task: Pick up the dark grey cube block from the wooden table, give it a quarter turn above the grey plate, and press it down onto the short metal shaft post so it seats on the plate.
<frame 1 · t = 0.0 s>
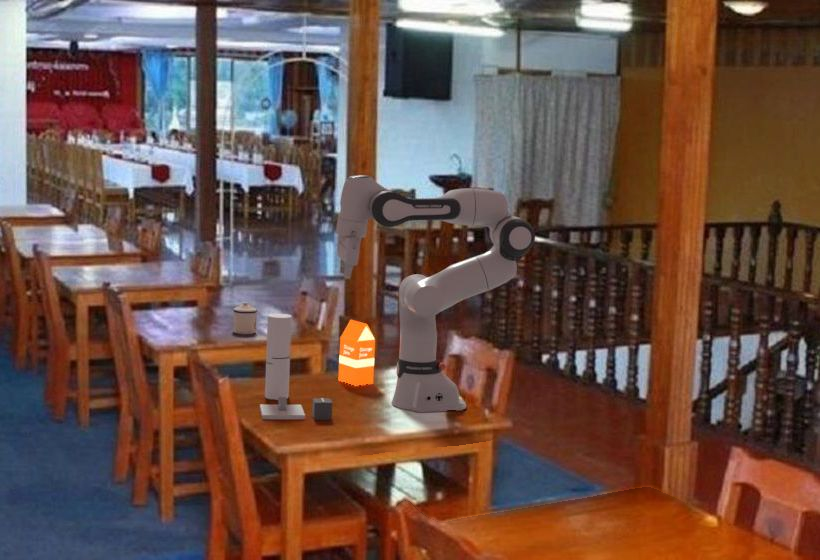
hand: (344, 276, 354), 39 cm above the table, tool pointing down, fingers open, 8 cm apart
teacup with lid: (243, 332, 464), on the table
dark grey cube block: (321, 417, 344), on the table
orange juice: (355, 382, 390), on the table
shaft base: (282, 413, 346), on the table
cylindrical container: (276, 397, 365), on the table
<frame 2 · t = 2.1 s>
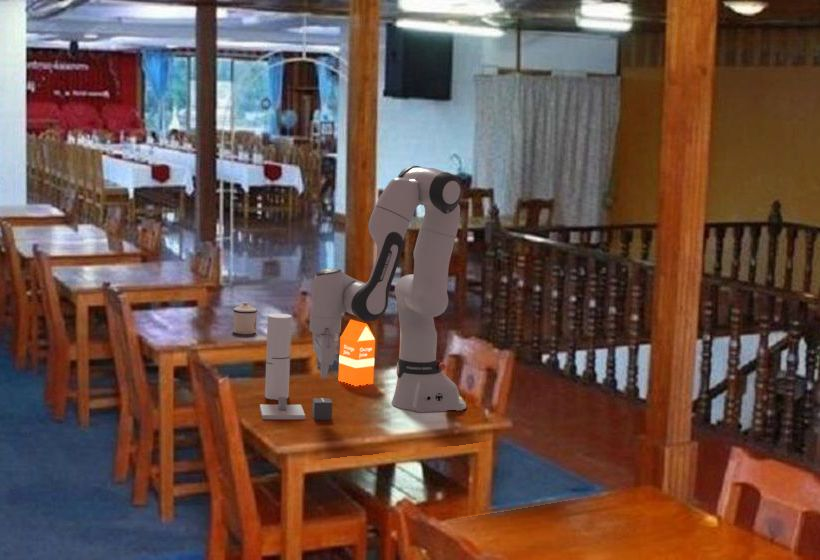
hand: (321, 373, 342), 13 cm above the table, tool pointing down, fingers open, 8 cm apart
nothing on the table moved.
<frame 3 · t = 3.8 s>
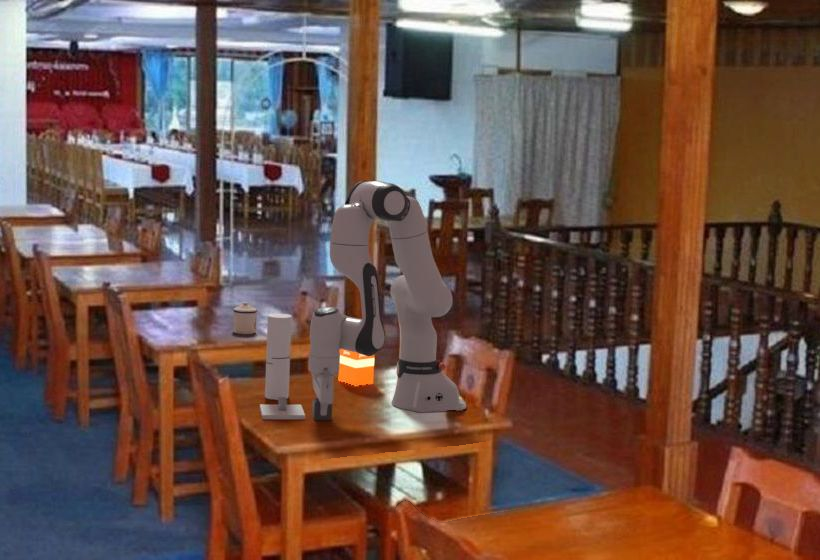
hand: (322, 412, 344), 2 cm above the table, tool pointing down, fingers closed on dark grey cube block, 5 cm apart
dark grey cube block: (321, 417, 344), on the table, touching gripper
everything else where it was.
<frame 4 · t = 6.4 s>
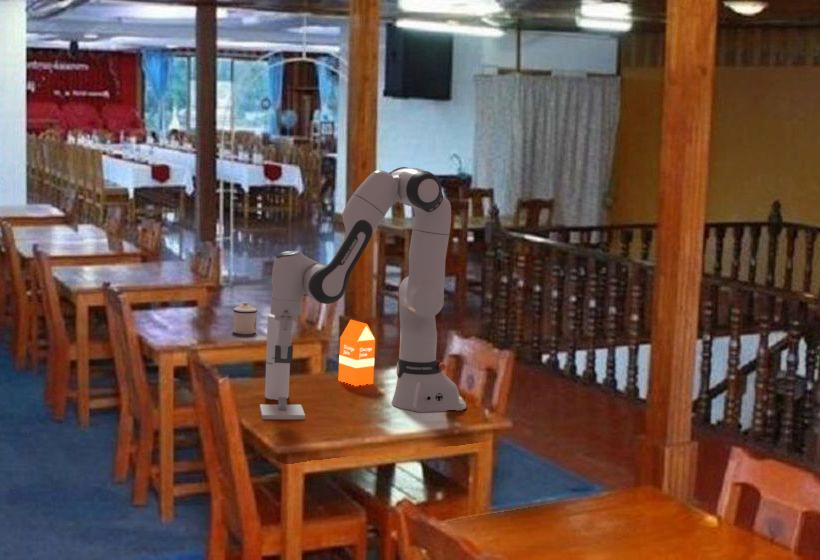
hand: (284, 355, 343), 17 cm above the table, tool pointing down, fingers closed on dark grey cube block, 5 cm apart
dark grey cube block: (283, 361, 343), point 15 cm above the table, touching gripper
everything else where it was.
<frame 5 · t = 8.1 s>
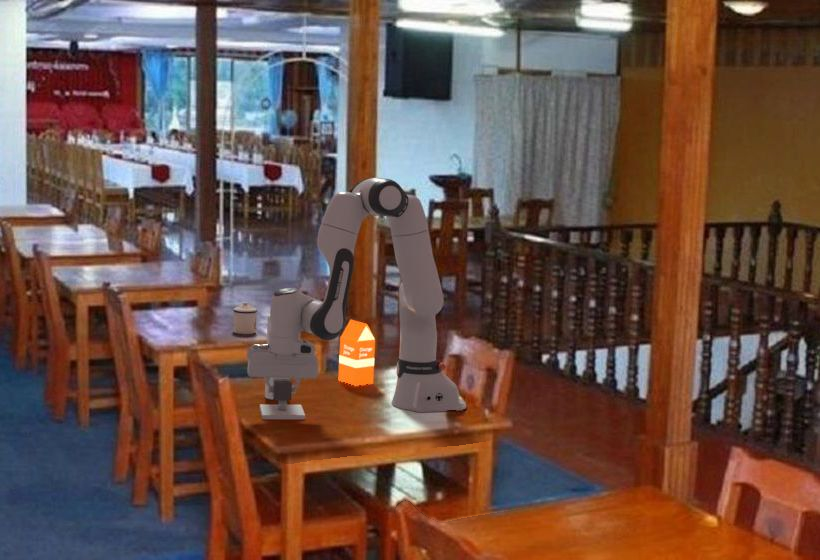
hand: (282, 392, 345), 6 cm above the table, tool pointing down, fingers closed on dark grey cube block, 5 cm apart
dark grey cube block: (281, 397, 345), point 5 cm above the table, touching gripper
everything else where it was.
when the fingers open (3 cm above the table, at t = 9.1 s): dark grey cube block stays where it is, resting on shaft base.
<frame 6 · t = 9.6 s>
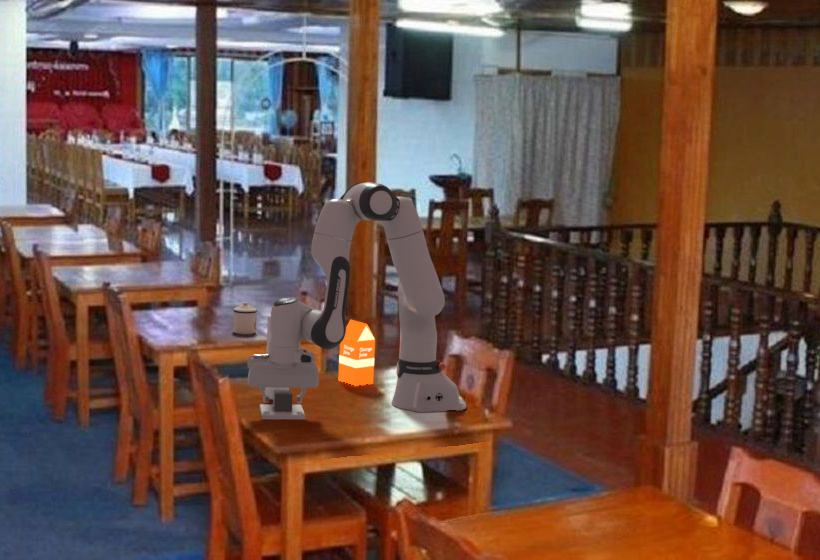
hand: (282, 402, 345), 3 cm above the table, tool pointing down, fingers open, 8 cm apart
dark grey cube block: (282, 409, 346), point 1 cm above the table, touching shaft base
everything else where it was.
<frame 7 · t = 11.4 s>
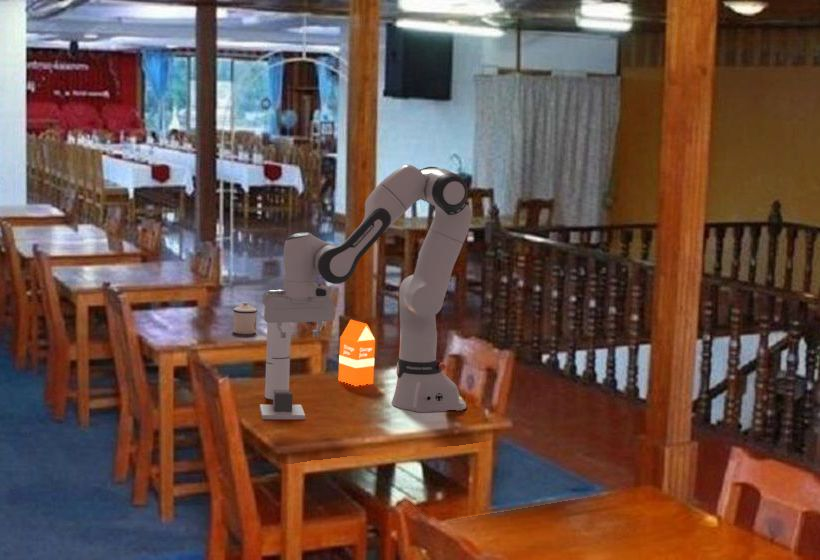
hand: (299, 337, 346), 22 cm above the table, tool pointing down, fingers open, 8 cm apart
nothing on the table moved.
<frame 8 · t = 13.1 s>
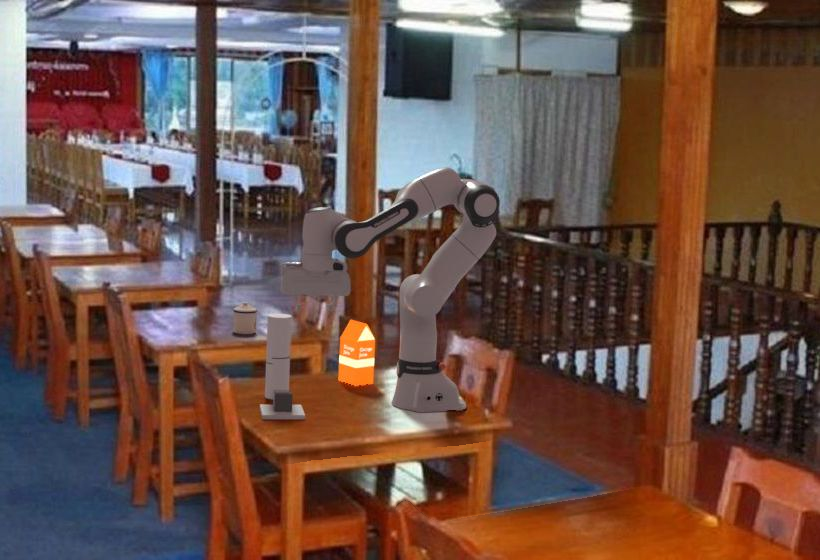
hand: (314, 310, 350), 29 cm above the table, tool pointing down, fingers open, 8 cm apart
nothing on the table moved.
at the end: dark grey cube block 0.1 cm off-centre on the shaft base, point 1.3 cm above the shaft base's base; dark grey cube block tilted 1°; the gripper is holding nothing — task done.
